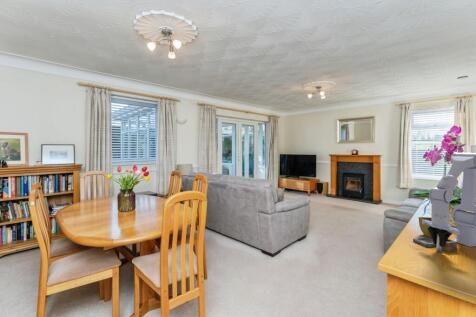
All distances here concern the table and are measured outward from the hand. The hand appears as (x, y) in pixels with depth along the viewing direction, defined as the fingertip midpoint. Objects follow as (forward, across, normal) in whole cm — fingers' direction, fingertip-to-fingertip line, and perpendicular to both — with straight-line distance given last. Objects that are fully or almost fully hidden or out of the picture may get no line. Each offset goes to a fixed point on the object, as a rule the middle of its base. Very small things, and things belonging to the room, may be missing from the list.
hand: (439, 244), depth 102 cm
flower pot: (+3, -14, +14) cm, 20 cm away
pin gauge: (+3, 0, 0) cm, 3 cm away
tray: (+3, -8, +3) cm, 9 cm away
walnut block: (+3, -2, +6) cm, 7 cm away
